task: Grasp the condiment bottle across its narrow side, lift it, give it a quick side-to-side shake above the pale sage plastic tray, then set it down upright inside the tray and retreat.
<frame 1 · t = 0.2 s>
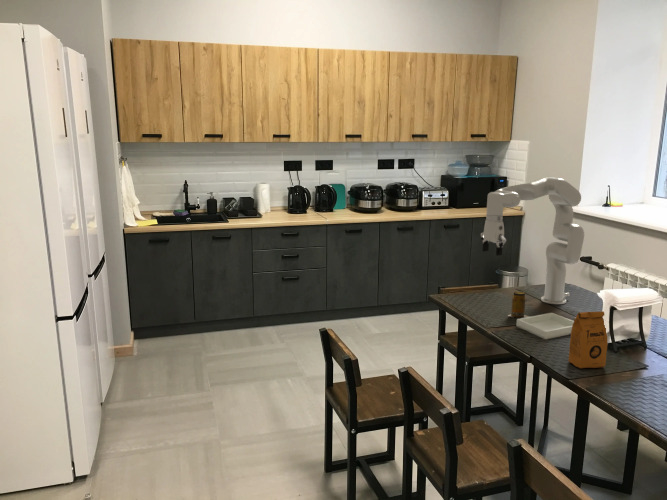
hand: (492, 253, 275), 31 cm above the table, tool pointing down, fingers open, 9 cm apart
washcloth: (593, 327, 265), on the table
tray: (548, 329, 261), on the table
coffee package: (586, 365, 222), on the table
condiment: (519, 317, 277), on the table
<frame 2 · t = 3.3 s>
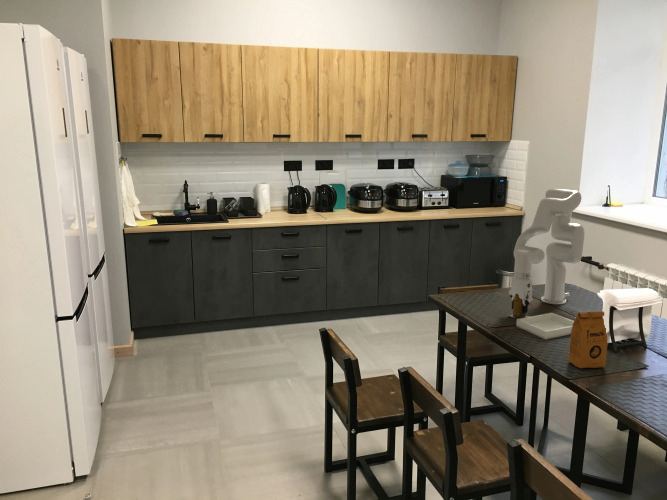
hand: (519, 310, 277), 3 cm above the table, tool pointing down, fingers closed on condiment, 6 cm apart
condiment: (520, 317, 277), on the table, touching gripper
everything else where it was.
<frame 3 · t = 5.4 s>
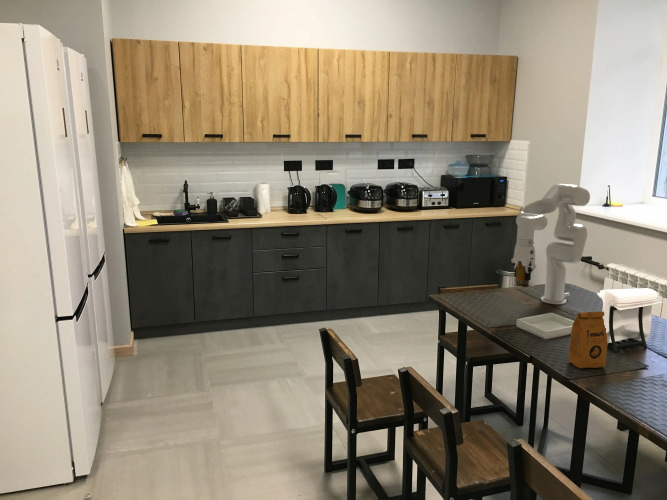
hand: (522, 278, 273), 19 cm above the table, tool pointing down, fingers closed on condiment, 6 cm apart
condiment: (523, 285, 273), point 16 cm above the table, touching gripper
everything else where it was.
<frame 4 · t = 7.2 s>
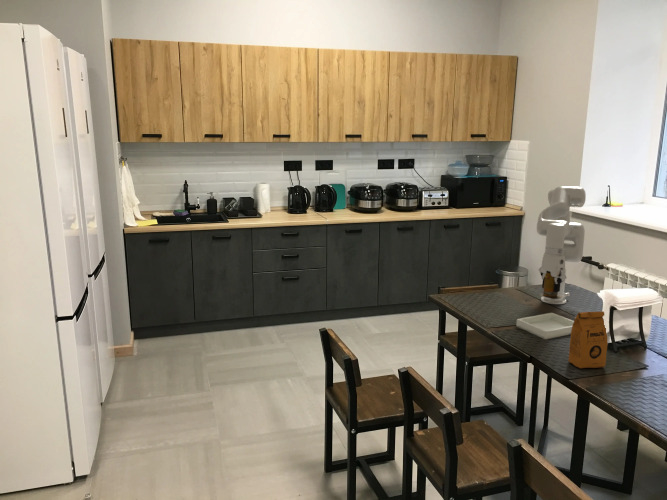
hand: (550, 289, 256), 19 cm above the table, tool pointing down, fingers closed on condiment, 6 cm apart
condiment: (551, 296, 256), point 16 cm above the table, touching gripper
everything else where it was.
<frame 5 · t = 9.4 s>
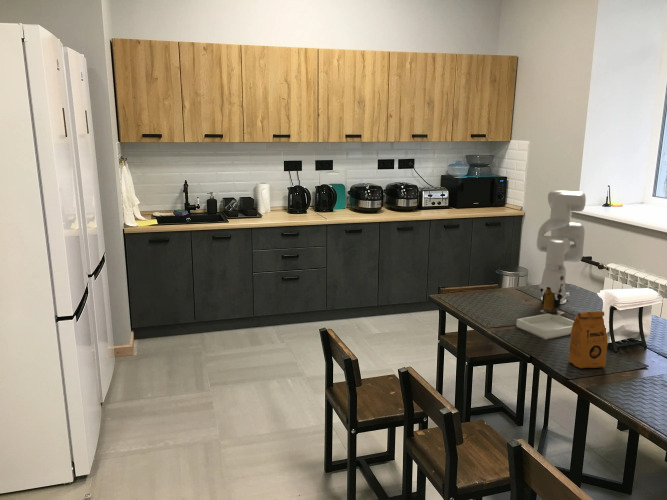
hand: (550, 305, 258), 11 cm above the table, tool pointing down, fingers closed on condiment, 6 cm apart
condiment: (551, 312, 258), point 8 cm above the table, touching gripper
everything else where it was.
when the fingers open (5 cm above the table, at t = 11.0 s): condiment drops 1 cm, resting on tray.
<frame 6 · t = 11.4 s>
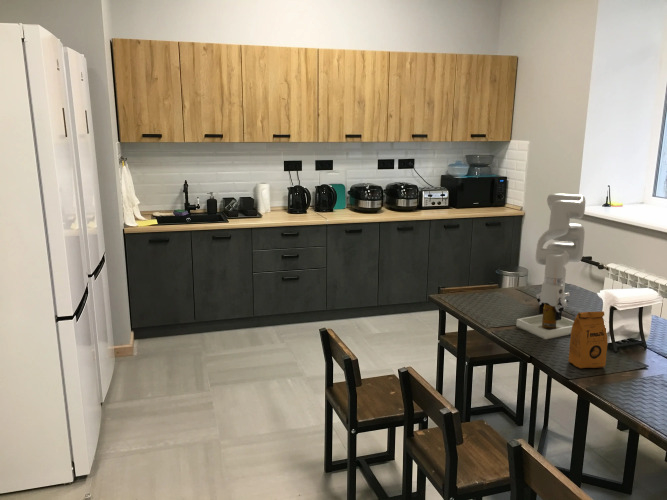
hand: (549, 316, 259), 6 cm above the table, tool pointing down, fingers open, 9 cm apart
condiment: (550, 328, 260), point 1 cm above the table, touching tray
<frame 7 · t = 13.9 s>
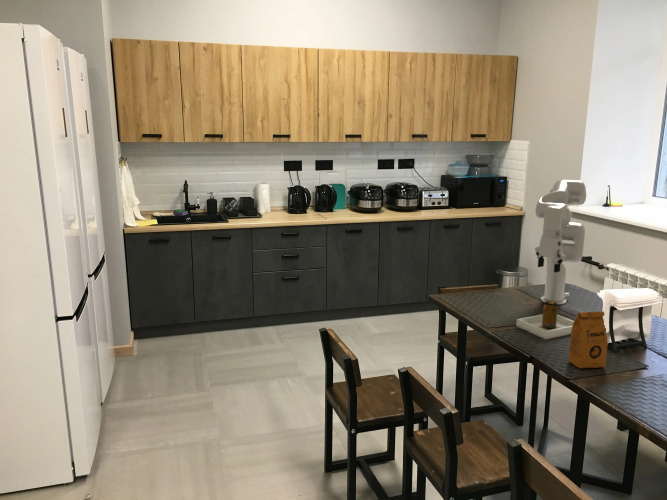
hand: (548, 269, 263), 26 cm above the table, tool pointing down, fingers open, 9 cm apart
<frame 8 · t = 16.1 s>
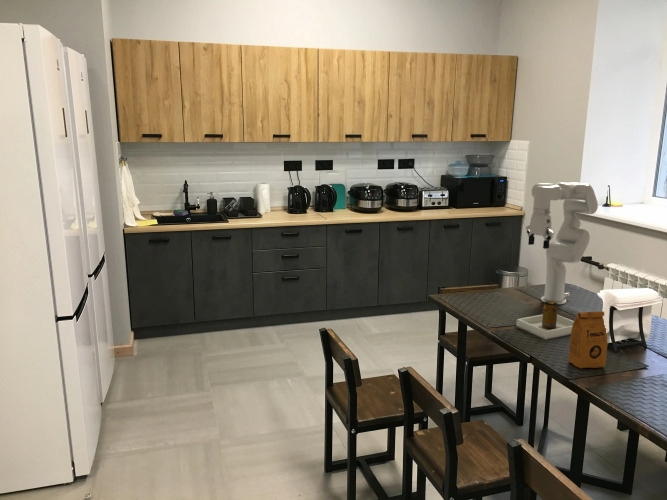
hand: (538, 246, 278), 33 cm above the table, tool pointing down, fingers open, 9 cm apart
at the end: condiment inside the target area on the tray (0.8 cm from its centre), point 0.6 cm above the tray's base; condiment tilted 0°; the gripper is holding nothing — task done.
